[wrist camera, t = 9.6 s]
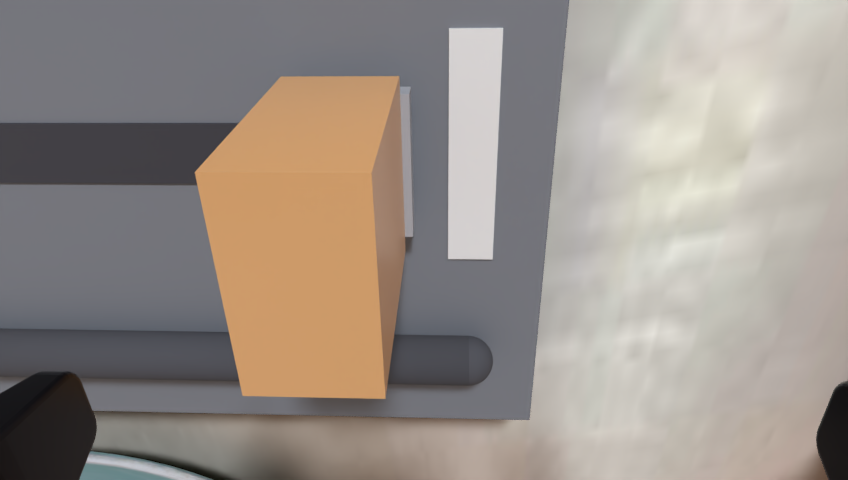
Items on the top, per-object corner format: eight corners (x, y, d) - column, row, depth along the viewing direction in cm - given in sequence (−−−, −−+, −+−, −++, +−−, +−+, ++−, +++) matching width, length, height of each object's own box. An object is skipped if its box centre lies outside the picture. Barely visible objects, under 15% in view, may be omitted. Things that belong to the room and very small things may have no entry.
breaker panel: (520, 357, 22) (529, 422, 20) (-122, 346, 23) (-196, 406, 21) (572, -290, 13) (601, -332, 11) (-469, -259, 15) (-676, -290, 12)
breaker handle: (414, 238, 16) (396, 399, 11) (300, 238, 16) (231, 395, 11) (410, 68, 14) (385, 173, 9) (278, 69, 14) (181, 171, 9)
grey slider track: (491, 363, 19) (493, 397, 17) (-192, 351, 20) (-233, 382, 18) (517, -171, 12) (524, -178, 11) (-515, -150, 13) (-615, -153, 12)
